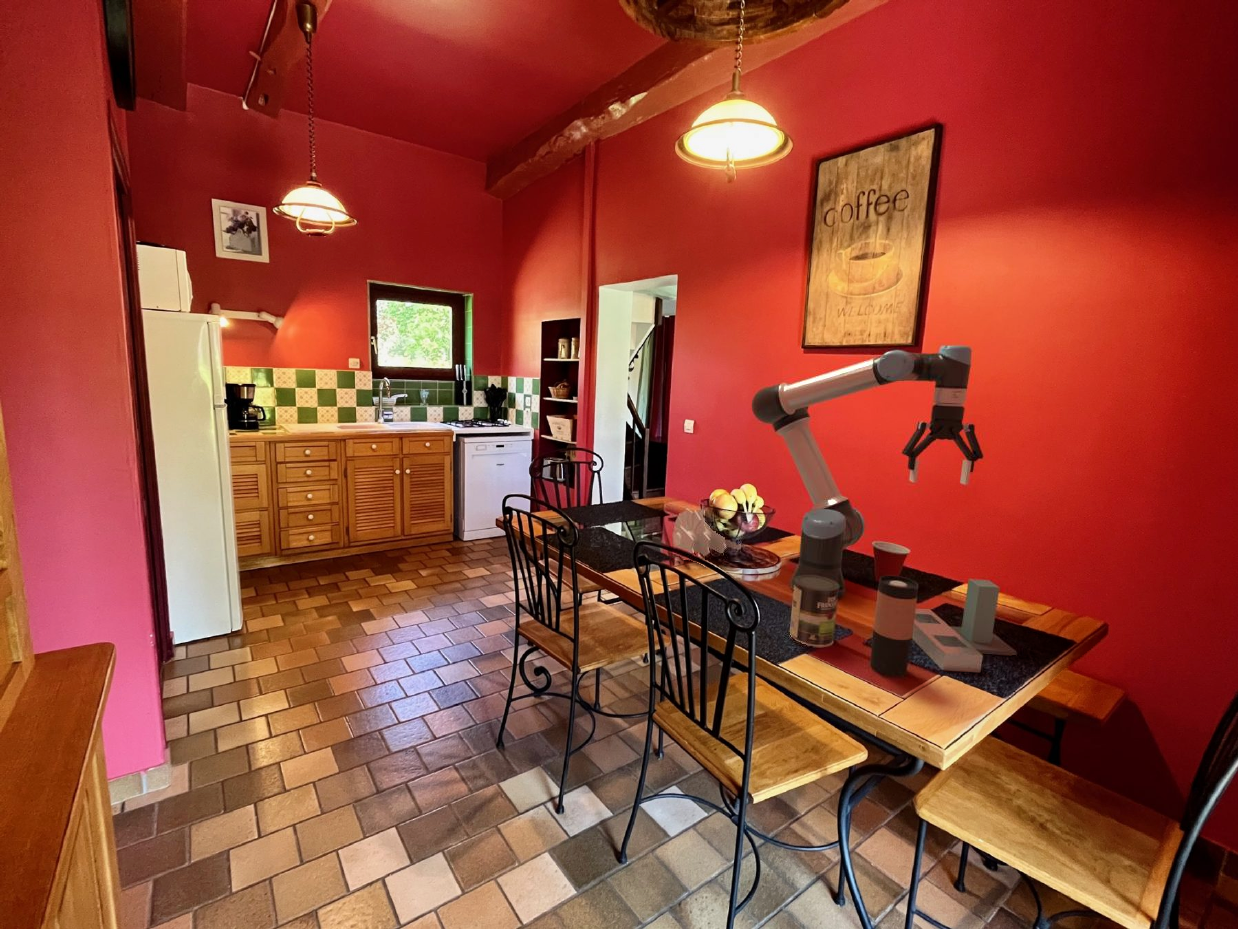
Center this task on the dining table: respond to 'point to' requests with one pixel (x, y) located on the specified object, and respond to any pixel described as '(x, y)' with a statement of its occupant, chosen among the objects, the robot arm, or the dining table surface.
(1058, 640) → the dining table surface
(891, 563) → the plastic cup
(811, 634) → the coffee can
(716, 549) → the spiral staircase
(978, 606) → the gray rectangular box
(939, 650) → the block with square holes
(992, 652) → the rubber mat
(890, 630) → the travel mug
